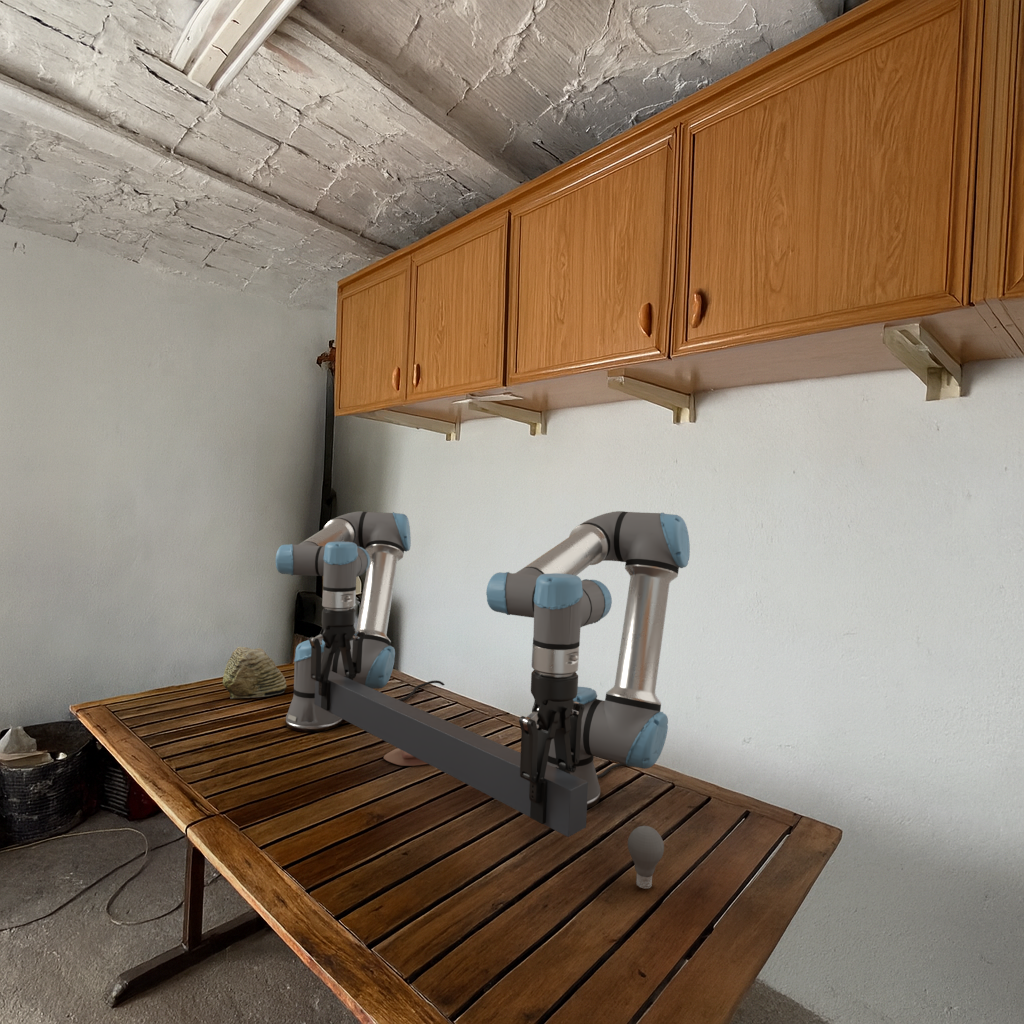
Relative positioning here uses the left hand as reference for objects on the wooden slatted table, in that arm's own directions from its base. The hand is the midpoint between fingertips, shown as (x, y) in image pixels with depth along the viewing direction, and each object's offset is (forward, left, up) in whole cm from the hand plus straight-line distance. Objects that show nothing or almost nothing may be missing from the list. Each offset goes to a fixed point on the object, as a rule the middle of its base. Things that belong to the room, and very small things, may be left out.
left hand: (335, 706), depth 149 cm
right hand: (+7, +67, 0) cm, 67 cm away
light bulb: (-7, +77, -14) cm, 79 cm away
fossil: (-14, -60, -14) cm, 64 cm away
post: (+4, +33, -1) cm, 34 cm away
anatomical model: (-16, +10, -14) cm, 24 cm away
